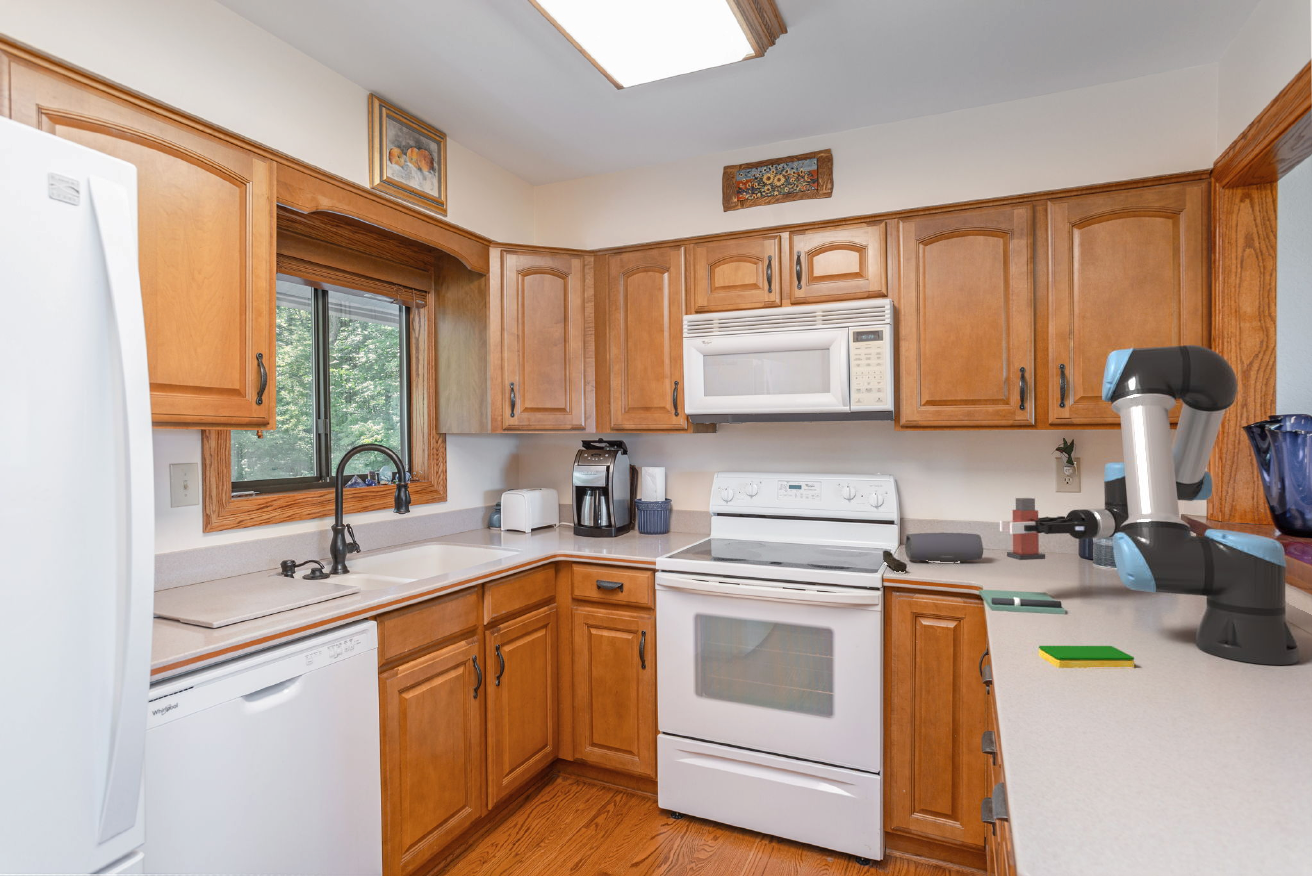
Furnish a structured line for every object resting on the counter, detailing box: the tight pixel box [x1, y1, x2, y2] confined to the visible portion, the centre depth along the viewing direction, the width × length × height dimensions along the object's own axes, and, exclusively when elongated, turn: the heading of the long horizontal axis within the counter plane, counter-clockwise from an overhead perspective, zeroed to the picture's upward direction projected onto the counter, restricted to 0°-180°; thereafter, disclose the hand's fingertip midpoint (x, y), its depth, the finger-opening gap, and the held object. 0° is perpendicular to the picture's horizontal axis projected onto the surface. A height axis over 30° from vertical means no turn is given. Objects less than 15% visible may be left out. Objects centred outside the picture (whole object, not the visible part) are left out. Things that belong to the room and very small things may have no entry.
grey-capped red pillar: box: [1006, 497, 1046, 561], centre depth 173 cm, size 5×7×15 cm
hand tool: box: [882, 550, 908, 572], centre depth 218 cm, size 19×4×5 cm, turn 173°
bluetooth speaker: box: [904, 532, 984, 562], centre depth 226 cm, size 23×9×10 cm, turn 84°
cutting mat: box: [978, 589, 1066, 615], centre depth 172 cm, size 18×16×3 cm
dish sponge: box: [1038, 645, 1135, 669], centre depth 128 cm, size 7×14×2 cm, turn 87°
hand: (1006, 527), depth 173 cm, fingers closed on grey-capped red pillar, 3 cm apart
